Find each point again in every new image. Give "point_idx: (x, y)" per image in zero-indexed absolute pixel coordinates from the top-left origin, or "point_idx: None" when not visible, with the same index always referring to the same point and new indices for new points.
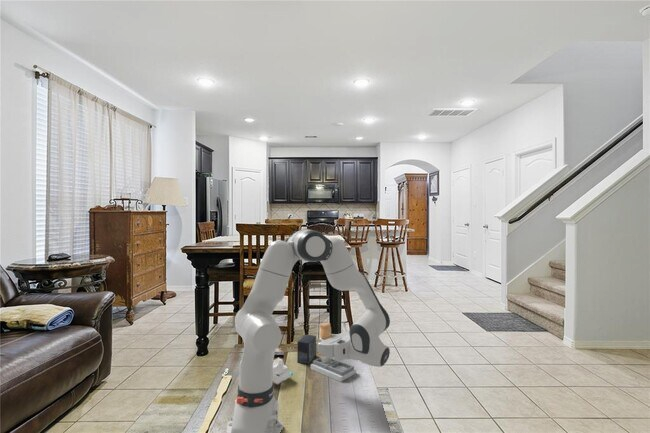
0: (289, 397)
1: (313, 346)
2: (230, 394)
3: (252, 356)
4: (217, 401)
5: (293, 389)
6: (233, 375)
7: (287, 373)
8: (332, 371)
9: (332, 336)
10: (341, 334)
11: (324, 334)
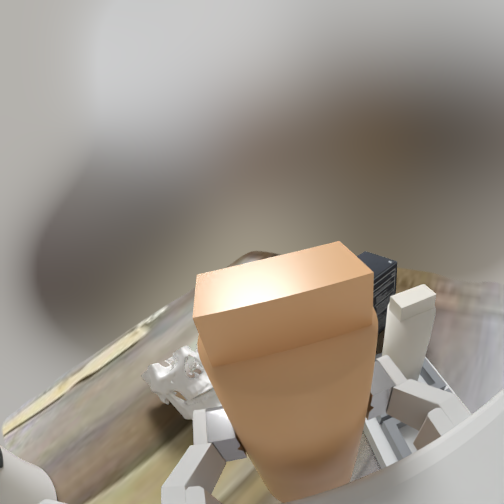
0: (154, 494)
1: (380, 299)
2: (87, 387)
3: None
4: (59, 391)
5: None
6: (149, 333)
7: (206, 408)
8: (392, 448)
9: (395, 401)
10: (489, 451)
11: (234, 420)
